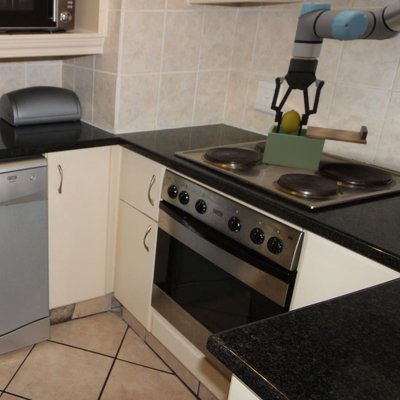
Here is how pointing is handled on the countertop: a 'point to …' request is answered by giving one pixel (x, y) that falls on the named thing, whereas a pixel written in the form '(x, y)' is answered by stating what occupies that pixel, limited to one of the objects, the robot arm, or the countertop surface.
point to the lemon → (290, 122)
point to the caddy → (293, 149)
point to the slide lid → (338, 134)
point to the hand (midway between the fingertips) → (288, 133)
